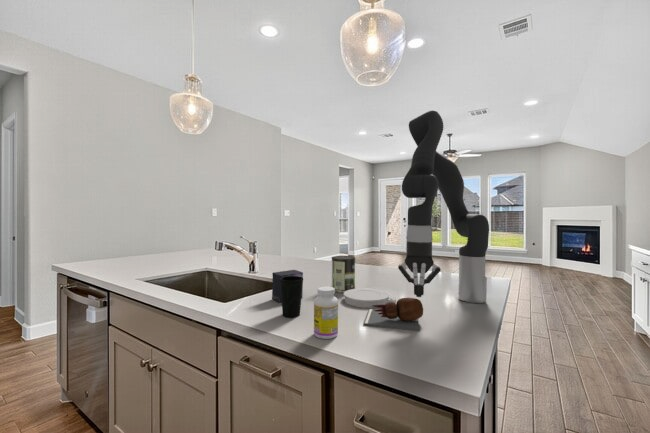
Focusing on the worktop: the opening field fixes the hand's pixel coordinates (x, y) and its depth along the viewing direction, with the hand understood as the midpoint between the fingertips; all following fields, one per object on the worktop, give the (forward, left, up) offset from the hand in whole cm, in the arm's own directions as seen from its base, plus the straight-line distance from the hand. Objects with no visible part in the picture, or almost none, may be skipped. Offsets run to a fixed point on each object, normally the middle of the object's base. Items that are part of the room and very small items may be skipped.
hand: (418, 296), depth 95 cm
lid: (+17, -19, -8) cm, 27 cm away
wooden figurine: (-1, 0, -4) cm, 4 cm away
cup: (+40, +4, -8) cm, 41 cm away
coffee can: (+30, -33, -8) cm, 45 cm away
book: (+8, 0, -8) cm, 11 cm away
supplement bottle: (+25, +17, -8) cm, 31 cm away
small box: (+48, -13, -8) cm, 50 cm away
